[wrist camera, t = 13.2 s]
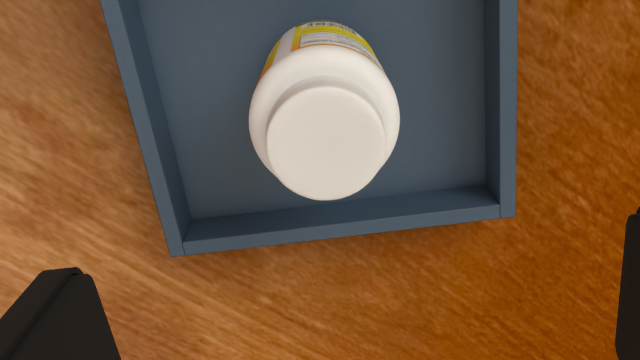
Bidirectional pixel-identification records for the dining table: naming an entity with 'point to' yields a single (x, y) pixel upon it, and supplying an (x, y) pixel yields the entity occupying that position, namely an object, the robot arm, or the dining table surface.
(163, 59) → the tray
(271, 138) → the supplement bottle
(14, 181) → the dining table surface
